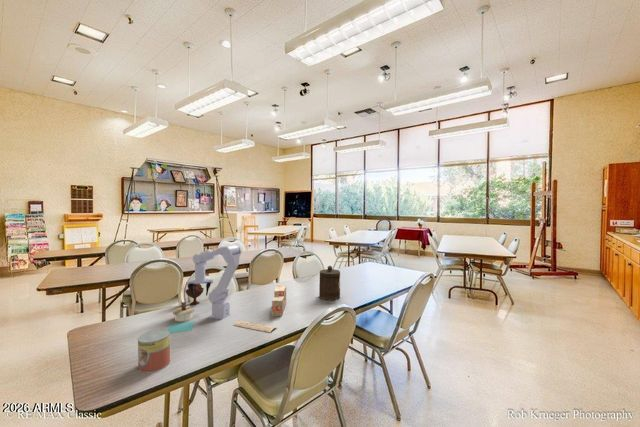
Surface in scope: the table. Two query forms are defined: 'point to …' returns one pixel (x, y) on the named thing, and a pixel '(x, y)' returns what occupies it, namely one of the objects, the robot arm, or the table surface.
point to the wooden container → (329, 284)
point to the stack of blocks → (279, 301)
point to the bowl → (183, 317)
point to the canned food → (153, 351)
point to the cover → (183, 310)
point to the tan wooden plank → (254, 326)
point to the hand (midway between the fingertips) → (200, 295)
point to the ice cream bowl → (195, 293)
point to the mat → (180, 327)
